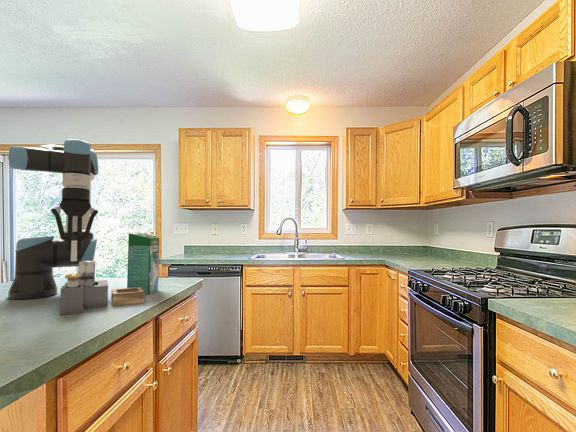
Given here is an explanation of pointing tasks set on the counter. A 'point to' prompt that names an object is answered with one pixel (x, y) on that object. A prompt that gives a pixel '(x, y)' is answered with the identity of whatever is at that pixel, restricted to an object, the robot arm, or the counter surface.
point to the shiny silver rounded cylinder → (87, 273)
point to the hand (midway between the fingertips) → (73, 260)
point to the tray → (127, 296)
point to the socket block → (83, 297)
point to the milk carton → (143, 262)
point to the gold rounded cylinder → (73, 280)
